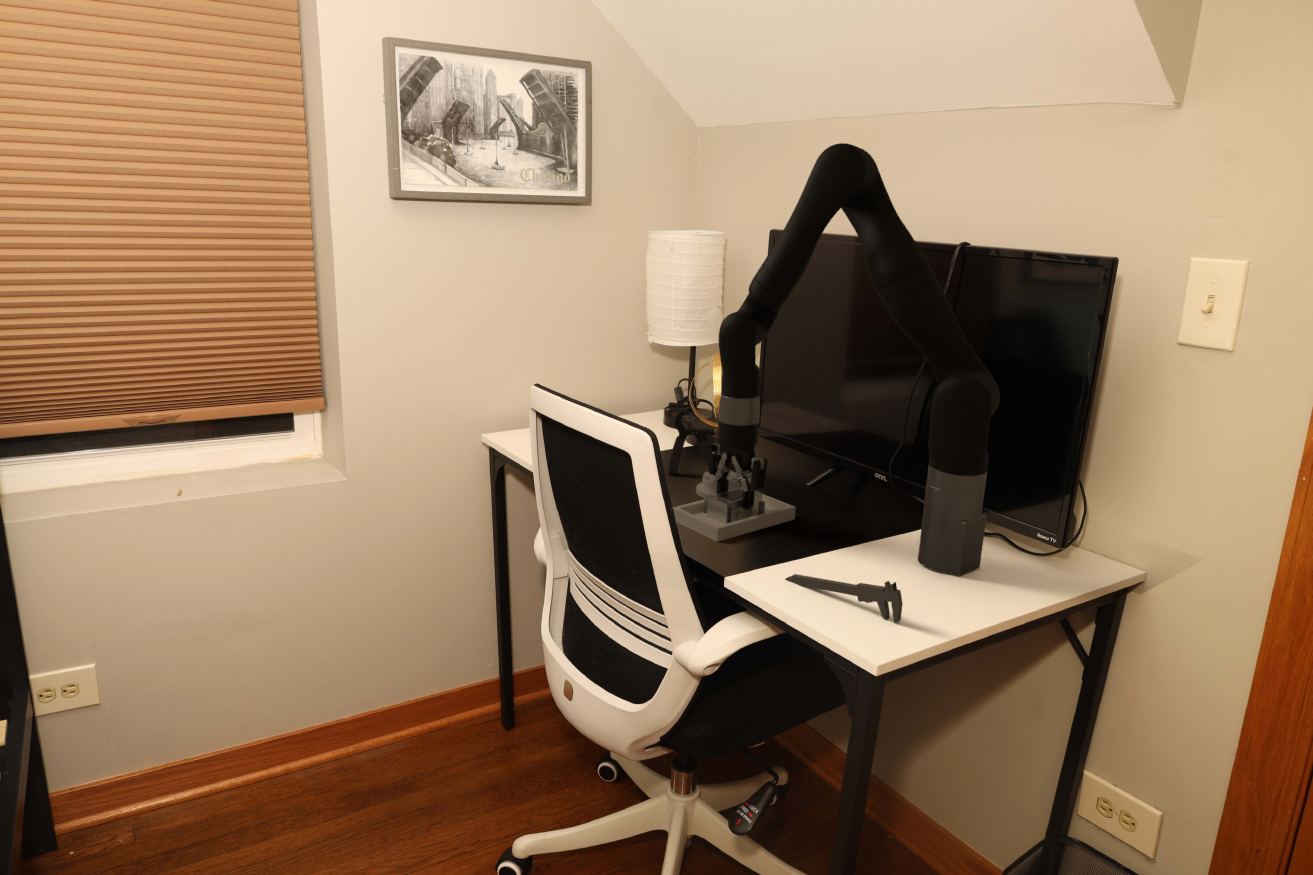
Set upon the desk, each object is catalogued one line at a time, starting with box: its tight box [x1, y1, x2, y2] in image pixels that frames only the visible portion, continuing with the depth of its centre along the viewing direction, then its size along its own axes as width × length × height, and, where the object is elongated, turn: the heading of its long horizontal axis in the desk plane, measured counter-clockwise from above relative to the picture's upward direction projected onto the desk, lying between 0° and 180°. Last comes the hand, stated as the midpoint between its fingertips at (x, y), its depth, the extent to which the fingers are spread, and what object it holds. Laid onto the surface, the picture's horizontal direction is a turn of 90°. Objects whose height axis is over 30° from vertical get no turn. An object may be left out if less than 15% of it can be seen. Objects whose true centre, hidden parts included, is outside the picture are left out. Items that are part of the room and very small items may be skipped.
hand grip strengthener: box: [667, 408, 718, 477], centre depth 189 cm, size 2×12×15 cm, turn 78°
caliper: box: [784, 573, 903, 624], centre depth 133 cm, size 20×1×6 cm, turn 45°
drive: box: [707, 486, 763, 524], centre depth 165 cm, size 5×10×4 cm, turn 134°
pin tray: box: [672, 493, 797, 543], centre depth 166 cm, size 13×20×4 cm, turn 128°
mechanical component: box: [695, 470, 742, 499], centre depth 180 cm, size 10×4×10 cm
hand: (734, 503), depth 165 cm, fingers open, 6 cm apart
